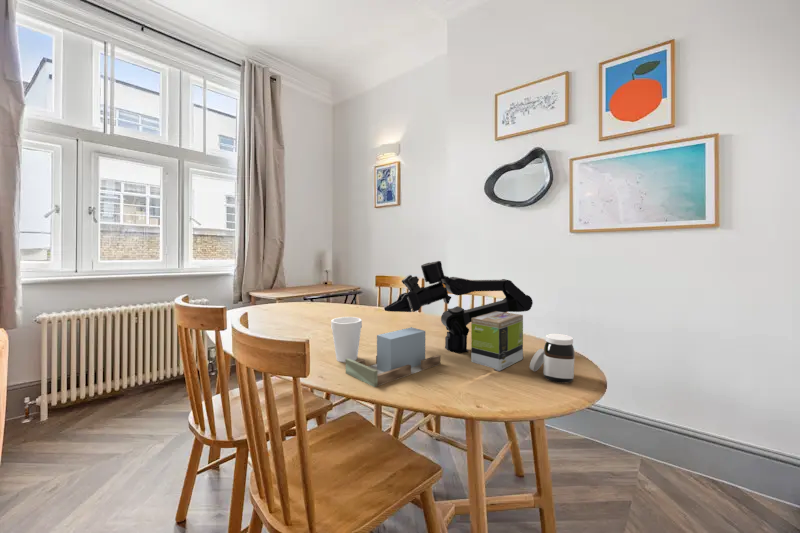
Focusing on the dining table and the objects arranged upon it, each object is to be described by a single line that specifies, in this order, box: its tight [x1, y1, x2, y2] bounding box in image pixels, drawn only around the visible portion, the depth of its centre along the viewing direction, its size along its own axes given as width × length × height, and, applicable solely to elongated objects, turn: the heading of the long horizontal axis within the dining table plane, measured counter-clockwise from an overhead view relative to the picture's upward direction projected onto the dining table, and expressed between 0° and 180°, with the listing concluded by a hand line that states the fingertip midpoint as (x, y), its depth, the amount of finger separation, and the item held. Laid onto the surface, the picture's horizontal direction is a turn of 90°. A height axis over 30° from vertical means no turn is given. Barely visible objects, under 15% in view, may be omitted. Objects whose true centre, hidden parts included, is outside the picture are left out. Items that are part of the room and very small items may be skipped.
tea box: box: [470, 311, 524, 372], centre depth 111 cm, size 15×10×15 cm
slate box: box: [376, 326, 426, 372], centre depth 105 cm, size 14×6×10 cm, turn 132°
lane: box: [345, 354, 442, 388], centre depth 104 cm, size 26×25×5 cm
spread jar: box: [529, 333, 575, 384], centre depth 99 cm, size 12×11×12 cm
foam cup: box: [330, 316, 363, 363], centre depth 112 cm, size 10×9×13 cm
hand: (385, 309), depth 118 cm, fingers open, 9 cm apart
